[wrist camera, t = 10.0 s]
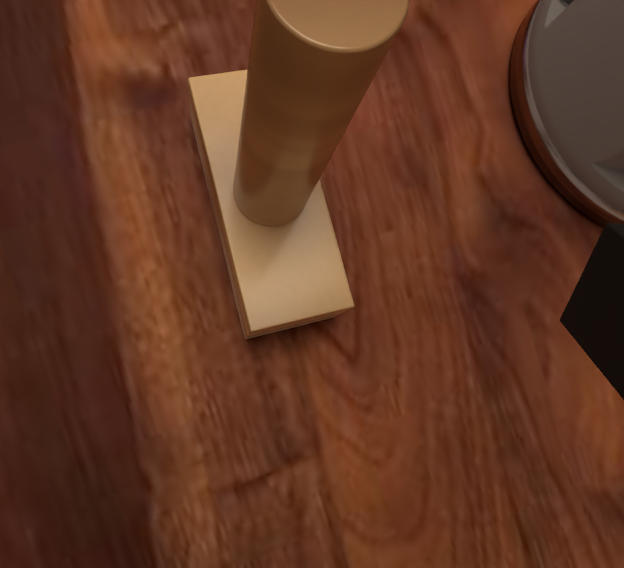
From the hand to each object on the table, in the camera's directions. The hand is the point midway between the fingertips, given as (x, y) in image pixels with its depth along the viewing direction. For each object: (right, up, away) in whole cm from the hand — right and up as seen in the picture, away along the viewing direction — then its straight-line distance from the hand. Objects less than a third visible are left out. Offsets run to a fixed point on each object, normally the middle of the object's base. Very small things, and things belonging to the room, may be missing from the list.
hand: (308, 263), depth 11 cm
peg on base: (-2, +3, +12) cm, 13 cm away
